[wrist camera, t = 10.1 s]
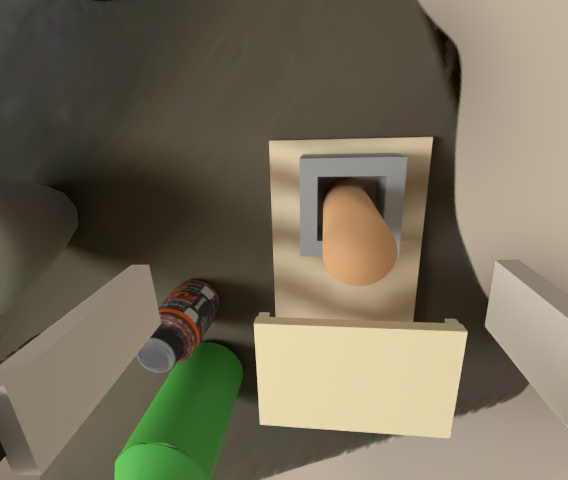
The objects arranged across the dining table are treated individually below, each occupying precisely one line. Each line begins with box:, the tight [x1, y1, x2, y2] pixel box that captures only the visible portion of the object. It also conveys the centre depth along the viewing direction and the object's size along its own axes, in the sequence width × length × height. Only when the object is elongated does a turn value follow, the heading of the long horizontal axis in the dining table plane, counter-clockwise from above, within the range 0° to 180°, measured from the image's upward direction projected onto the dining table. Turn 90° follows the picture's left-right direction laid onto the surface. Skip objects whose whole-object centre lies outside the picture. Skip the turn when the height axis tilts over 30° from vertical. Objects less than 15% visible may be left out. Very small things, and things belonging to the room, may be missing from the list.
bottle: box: [115, 342, 243, 480], centre depth 34 cm, size 9×9×25 cm
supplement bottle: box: [137, 280, 220, 373], centre depth 37 cm, size 6×6×11 cm
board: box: [269, 137, 433, 322], centre depth 37 cm, size 22×16×1 cm
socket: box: [299, 153, 408, 258], centre depth 33 cm, size 9×9×5 cm
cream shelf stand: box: [254, 312, 468, 438], centre depth 32 cm, size 10×15×14 cm, turn 91°
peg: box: [323, 178, 397, 286], centre depth 28 cm, size 4×4×16 cm
